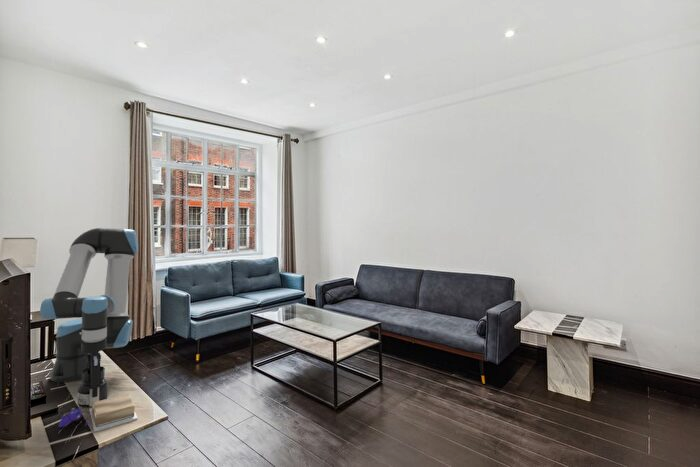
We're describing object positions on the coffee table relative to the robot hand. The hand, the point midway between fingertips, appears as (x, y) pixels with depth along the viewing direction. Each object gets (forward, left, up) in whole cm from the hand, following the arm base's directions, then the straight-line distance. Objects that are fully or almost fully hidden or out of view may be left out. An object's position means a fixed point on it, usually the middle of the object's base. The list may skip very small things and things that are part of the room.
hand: (92, 399), depth 130 cm
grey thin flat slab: (+14, +4, -1) cm, 15 cm away
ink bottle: (0, 0, -1) cm, 1 cm away
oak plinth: (+14, +4, -1) cm, 15 cm away
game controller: (+14, -6, -1) cm, 16 cm away
